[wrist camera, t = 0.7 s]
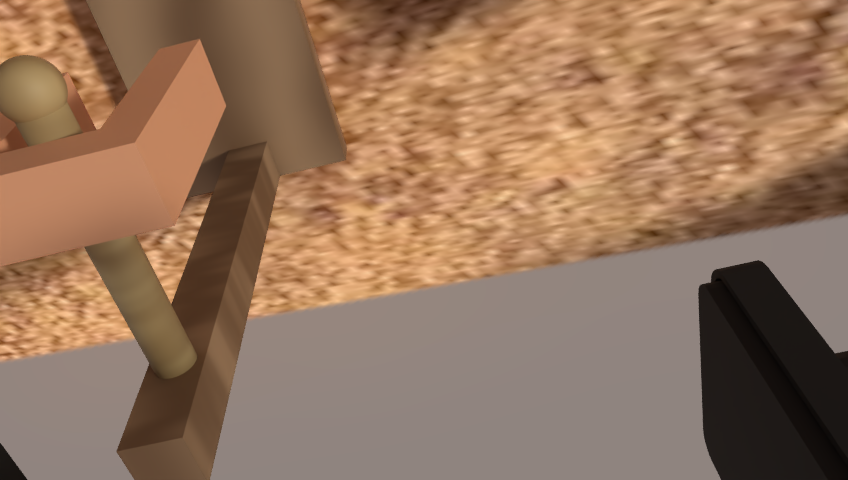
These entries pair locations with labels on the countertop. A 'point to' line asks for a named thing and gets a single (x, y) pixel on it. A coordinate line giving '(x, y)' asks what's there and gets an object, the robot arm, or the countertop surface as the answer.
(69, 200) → the link
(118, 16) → the stand
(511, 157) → the countertop surface
